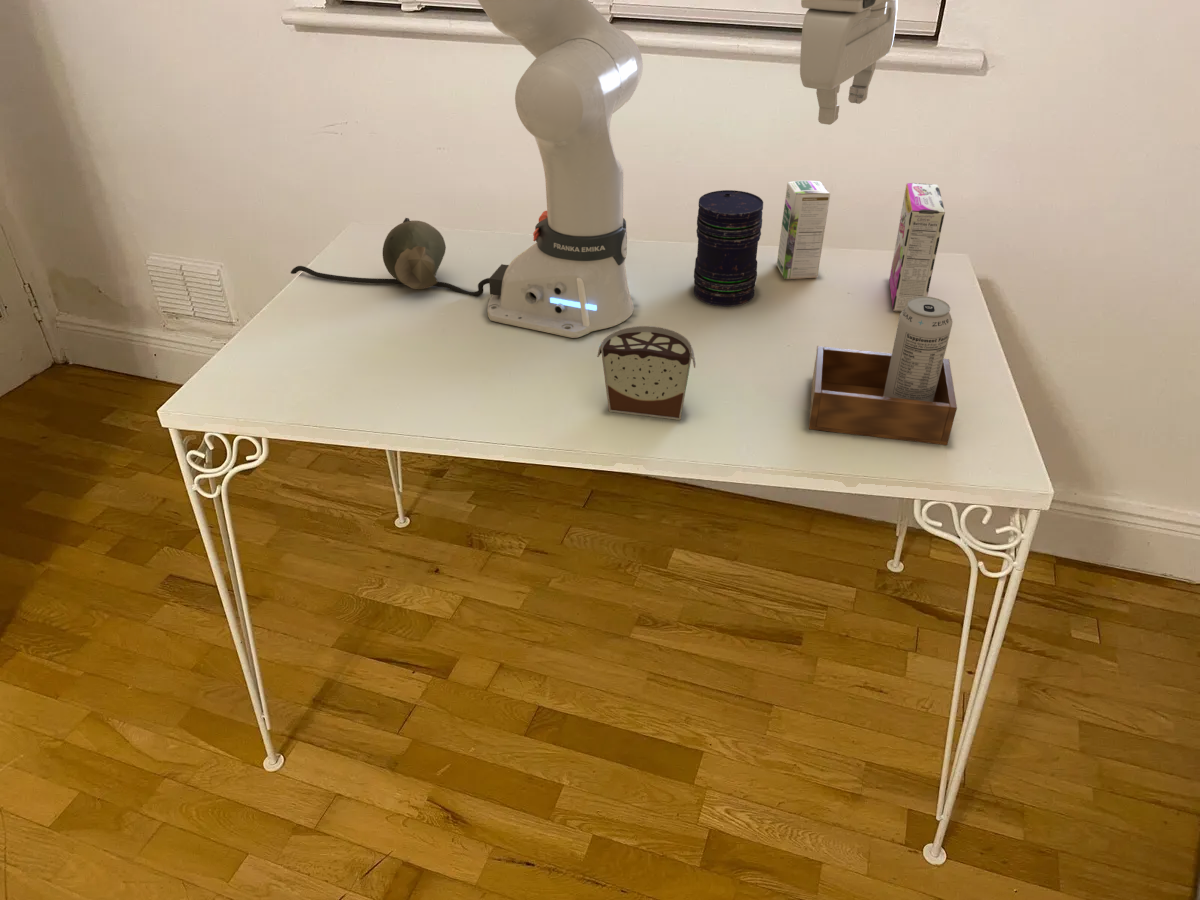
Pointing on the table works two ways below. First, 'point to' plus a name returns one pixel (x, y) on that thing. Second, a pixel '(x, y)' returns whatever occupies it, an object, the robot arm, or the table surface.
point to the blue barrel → (727, 247)
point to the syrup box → (802, 229)
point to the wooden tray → (875, 399)
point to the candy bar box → (916, 243)
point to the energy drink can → (919, 349)
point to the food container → (646, 371)
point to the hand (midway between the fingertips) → (842, 112)
